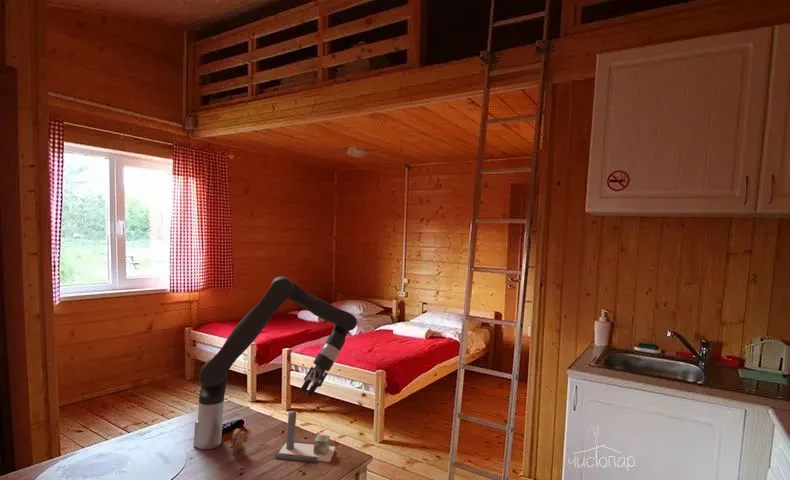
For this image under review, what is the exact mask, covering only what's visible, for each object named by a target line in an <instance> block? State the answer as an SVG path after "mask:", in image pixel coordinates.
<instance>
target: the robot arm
mask: <svg viewBox="0 0 790 480" xmlns="http://www.w3.org/2000/svg"><path fill="white" fill-rule="evenodd" d="M287 300H289V301H291V302H293V303H296V304H298V306H301V307H302V308H303V309H306V310H307V311H308V312H310V313H311V314H313V315H314V316H316V317H317V318H320V319H322V320H323V321H325V322H328V323H333V324H334V326H333V329H332V331H331V333H330V335H329V337H328V338H327V339H326V341H325V343H324V344H323V345H322V347H321V348H320V350H319V352H318V354H317V356H316V357H315V359H314V361H313V364H314V365H315V366H314V367H313V366H311V367H310V368H309V370H308V371H307V373H306V375H305V376H304V378H303V380H304V382H303V384H302V386H301V387H300V390H299V391H300V392H302V393H303V394H305V393H306V391H307V393H306V394H307V395H308V396H309V397H313V395H314V394H315V391H316V390H317V388H321V386H322V385H323V383H324V381H325V379H326V377H327V376H328V372H330V370H331V369H332V367H333V366H334V364H335V362H336V360H337V358H338V356H339V354H340V352H341V350H342V349H343V347H344V346H345V345H344V344H345V343H346V337H347V336H348V333H349V332H350V331H353V330H354V329H355V328H356V327H357V326H358V325H357V324H358V320H357V318H356V317H355V315H354V314H352V313H350V312H348V311H346V310H343V309H341V308H338V307H336V306H335V305H333V304H331V303H329V302H327V301H325V300H324V299H322V298H320V297H318V296H315V295H313V294H312V293H309V292H308V291H306V290H304V288H301V287H300V286H299V285H297V284H296V283H294V282H293V281H292V280H291V279H290V278H289V277H287V276H284V275H279V276H277V277H275V278H274V279H273V280H272V281H271V283H270V286H269V288H268V289H267V292H265V294H264V295H263V297H262V298H261V300H260V301H259V302H258V303H257V304H256V305H255V306H254V307H253V308H251V310H249V311H248V312H247V313H246V314H245V315H244V316H243V317H242V318H241V319H240V321H239V322H238V323H237V324H236V326H235V327H234V329H233V330H232V331H231V333H230V334H229V335H228V337H227V339H226V340H225V342H224V344H223V346H222V347H221V348H220V349H219V351H218V352H217V353H216V354H215V355H214V356H213V357H212V358H211V359H209V360H207V361H206V362H205V363H204V365H203V366H202V367H201V369H200V371H199V375H198V377H199V381H200V384H201V387H200V392H199V396H198V407H197V408H198V411H197V420H196V421H194V422H195V423H194V434H193V447H195V448H197V449H199V450H212V449H215V448H217V447H219V446H220V445H221V444H222V436H223V433H222V432H223V420H224V419H223V418H224V406H225V405H224V404H225V394H226V387H227V377H228V372H229V371H230V369H231V368H232V366H233V365H234V363H235V362H236V361H237V359H239V357H240V356H241V355H242V354H243V353H245V352H246V350H247V349H248V348H249V347H250V346H251V345H252V344H253V342H254V341H256V339H257V338H258V337H259V336H260V334H261V333H262V331H264V329H265V327H266V326H267V325H268V323H269V321H270V320H271V318H273V315H275V313H276V312H277V310H278V309H279V308H280V307H282V305H283V304H284V303H285V302H286V301H287ZM311 384H312V385H311ZM309 386H310V387H309Z"/></svg>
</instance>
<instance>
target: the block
mask: <svg viewBox="0 0 790 480" xmlns="http://www.w3.org/2000/svg"><path fill="white" fill-rule="evenodd" d="M330 439H331V436H330V435H325V434H317V435H316V436H315V439H314V441H313V443H314V452H313V454H322V455H326V454H327V452H328V450H329V446H330V442H331V440H330Z"/></svg>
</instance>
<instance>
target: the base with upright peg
mask: <svg viewBox="0 0 790 480" xmlns="http://www.w3.org/2000/svg"><path fill="white" fill-rule="evenodd" d="M287 413H288V415H287V427H286V428H287V429H286V441H287V442H286V443H285V444H284V443H283V446H282V447H281V448H280V450H279V452H278V454H288V455H298V456H308V457H317V462H326V463H330V462H331V461H332V458H333V455H334V454H335V451H336V446H333V445H329V450H328V452H327V454H326V455H322V454H313V452H314V445H313V444H302V443H294V441H295V438H296V437H295V436H296V425H297V410H289V411H288V412H287Z"/></svg>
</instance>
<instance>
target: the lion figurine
mask: <svg viewBox="0 0 790 480" xmlns="http://www.w3.org/2000/svg"><path fill="white" fill-rule="evenodd" d="M249 439H250V437H249V436H247V434H246V433H245V431H242V430H241V428H236V429H234V430H233V432H232V435H231V440H232V441H231V444H230V446H229V447H230V448H232V453H231V454H232V456H234V455H236V452H237V451H236V448H237V449H238V453H240V454H241V453H243V450H242V448H243V445H244V444H245V443H247V442H248V440H249Z"/></svg>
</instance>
